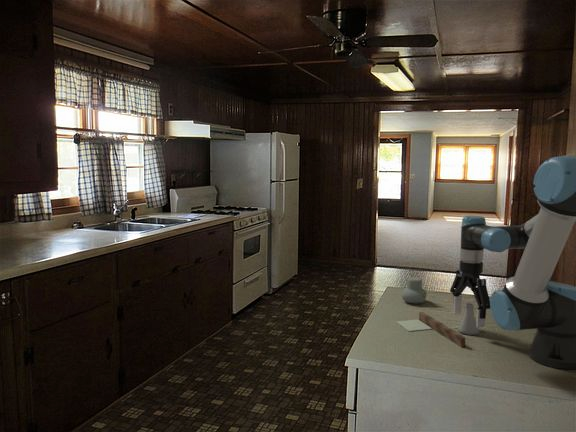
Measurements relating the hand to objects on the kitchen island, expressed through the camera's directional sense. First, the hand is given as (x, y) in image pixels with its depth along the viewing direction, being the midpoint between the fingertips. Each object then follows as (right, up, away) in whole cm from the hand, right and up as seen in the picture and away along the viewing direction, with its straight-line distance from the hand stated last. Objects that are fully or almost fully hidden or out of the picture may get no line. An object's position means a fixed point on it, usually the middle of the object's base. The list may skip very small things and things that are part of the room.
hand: (468, 320), depth 173 cm
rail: (-10, -4, 0) cm, 11 cm away
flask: (0, -4, 0) cm, 4 cm away
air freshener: (-10, 0, +36) cm, 37 cm away
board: (-17, -3, +6) cm, 19 cm away
